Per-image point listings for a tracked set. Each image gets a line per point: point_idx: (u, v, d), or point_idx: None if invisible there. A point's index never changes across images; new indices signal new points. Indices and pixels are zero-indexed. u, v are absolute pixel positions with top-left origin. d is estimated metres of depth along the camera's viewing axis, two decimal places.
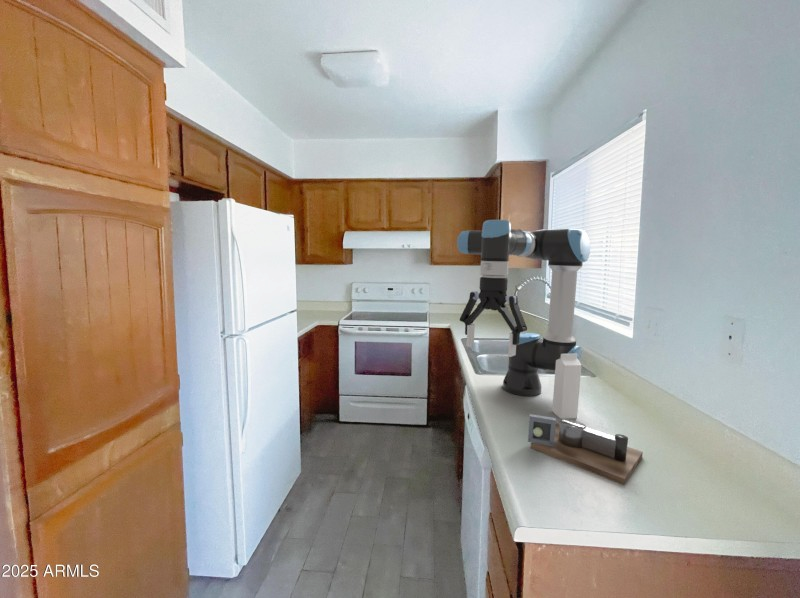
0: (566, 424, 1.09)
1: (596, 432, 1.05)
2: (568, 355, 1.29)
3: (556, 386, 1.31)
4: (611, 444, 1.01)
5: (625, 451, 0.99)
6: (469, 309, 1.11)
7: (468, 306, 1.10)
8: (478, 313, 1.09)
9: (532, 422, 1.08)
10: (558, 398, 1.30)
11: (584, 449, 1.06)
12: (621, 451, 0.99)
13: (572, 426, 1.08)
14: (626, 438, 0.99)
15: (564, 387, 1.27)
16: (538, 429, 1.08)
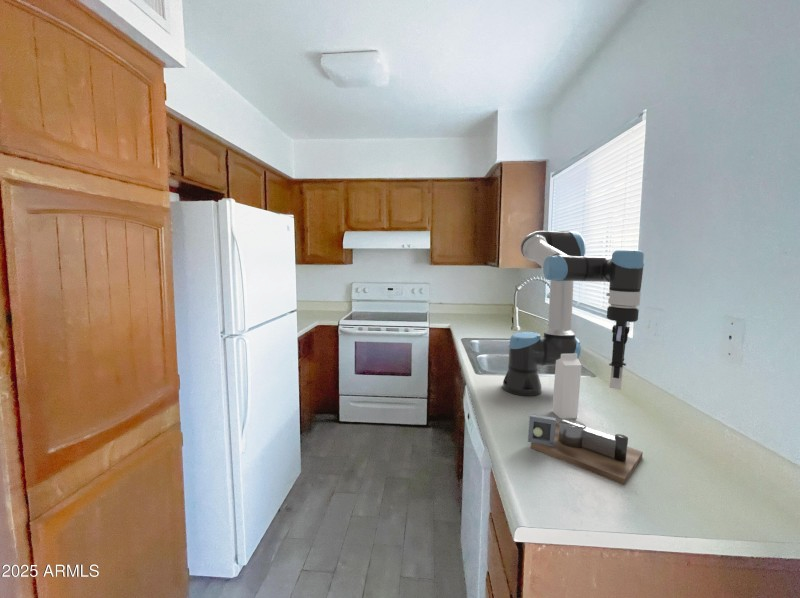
0: (566, 424, 1.09)
1: (596, 432, 1.05)
2: (568, 355, 1.29)
3: (556, 386, 1.31)
4: (611, 444, 1.01)
5: (625, 451, 0.99)
6: None
7: None
8: None
9: (532, 422, 1.08)
10: (558, 398, 1.30)
11: (584, 449, 1.06)
12: (621, 451, 0.99)
13: (572, 426, 1.08)
14: (626, 438, 0.99)
15: (564, 387, 1.27)
16: (538, 429, 1.08)
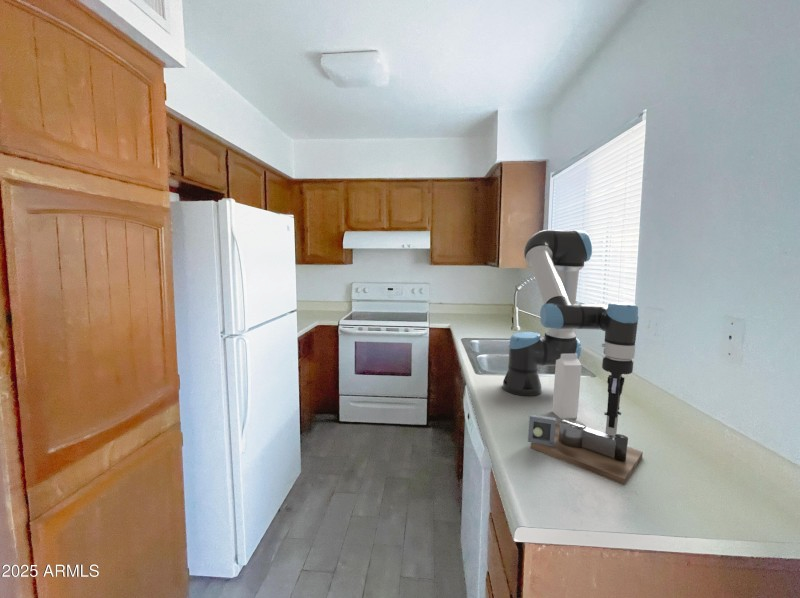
0: (566, 424, 1.09)
1: (596, 432, 1.05)
2: (568, 355, 1.29)
3: (556, 386, 1.31)
4: (611, 444, 1.01)
5: (625, 451, 0.99)
6: None
7: None
8: None
9: (532, 422, 1.08)
10: (558, 398, 1.30)
11: (584, 449, 1.06)
12: (621, 451, 0.99)
13: (572, 426, 1.08)
14: (626, 438, 0.99)
15: (564, 387, 1.27)
16: (538, 429, 1.08)
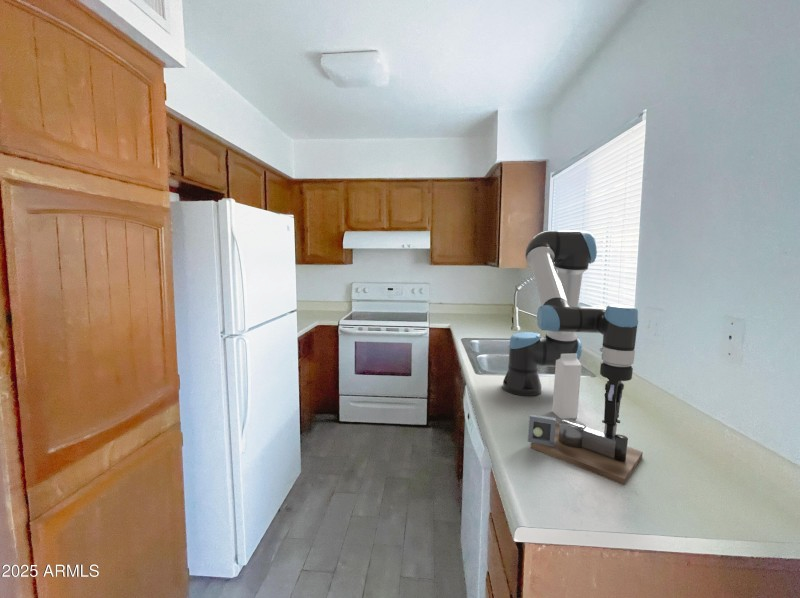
0: (566, 424, 1.09)
1: (596, 432, 1.05)
2: (568, 355, 1.29)
3: (556, 386, 1.31)
4: (611, 444, 1.01)
5: (625, 451, 0.99)
6: None
7: None
8: None
9: (532, 422, 1.08)
10: (558, 398, 1.30)
11: (584, 449, 1.06)
12: (621, 451, 0.99)
13: (572, 426, 1.08)
14: (626, 438, 0.99)
15: (564, 387, 1.27)
16: (538, 429, 1.08)
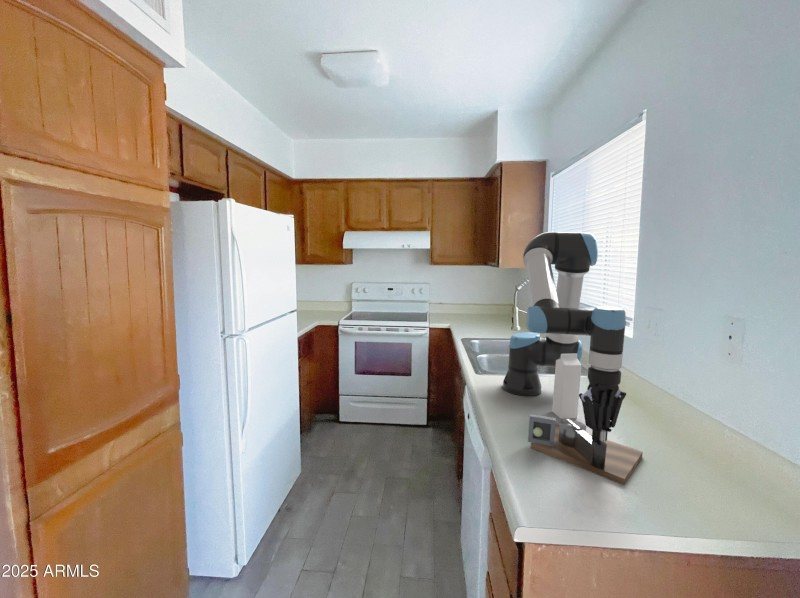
0: (566, 422, 1.10)
1: (585, 435, 1.03)
2: (568, 355, 1.29)
3: (556, 386, 1.31)
4: (590, 448, 0.99)
5: (600, 458, 0.96)
6: (610, 408, 1.00)
7: None
8: (603, 410, 0.99)
9: (532, 422, 1.08)
10: (558, 398, 1.30)
11: None
12: (595, 457, 0.96)
13: (569, 425, 1.09)
14: (603, 445, 0.95)
15: (564, 387, 1.27)
16: (538, 429, 1.08)
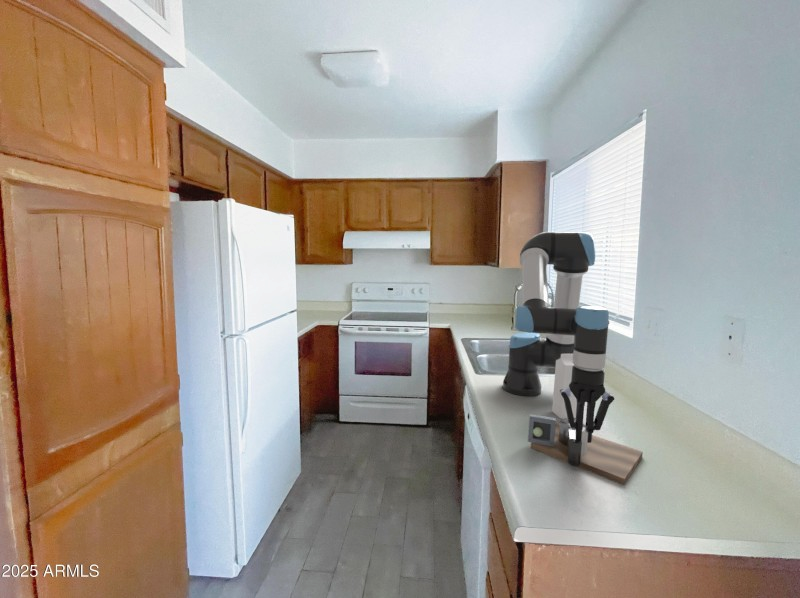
0: (568, 422, 1.11)
1: (573, 434, 1.03)
2: (568, 355, 1.29)
3: (556, 386, 1.31)
4: None
5: (572, 455, 0.97)
6: (598, 410, 0.98)
7: None
8: (587, 410, 0.99)
9: (532, 422, 1.08)
10: (558, 398, 1.30)
11: None
12: (569, 453, 0.98)
13: (568, 424, 1.09)
14: (576, 443, 0.96)
15: (564, 387, 1.27)
16: (538, 429, 1.08)
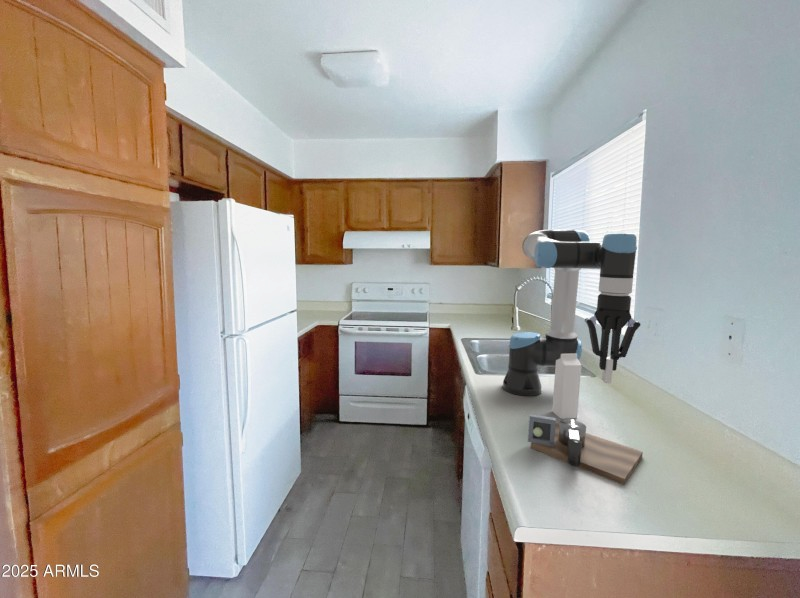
0: (568, 422, 1.11)
1: (573, 434, 1.03)
2: (568, 355, 1.29)
3: (556, 386, 1.31)
4: None
5: (572, 455, 0.97)
6: (624, 338, 0.99)
7: None
8: (613, 338, 0.99)
9: (532, 422, 1.08)
10: (558, 398, 1.30)
11: (584, 449, 1.06)
12: (568, 453, 0.98)
13: (568, 424, 1.09)
14: (576, 443, 0.96)
15: (564, 387, 1.27)
16: (538, 429, 1.08)
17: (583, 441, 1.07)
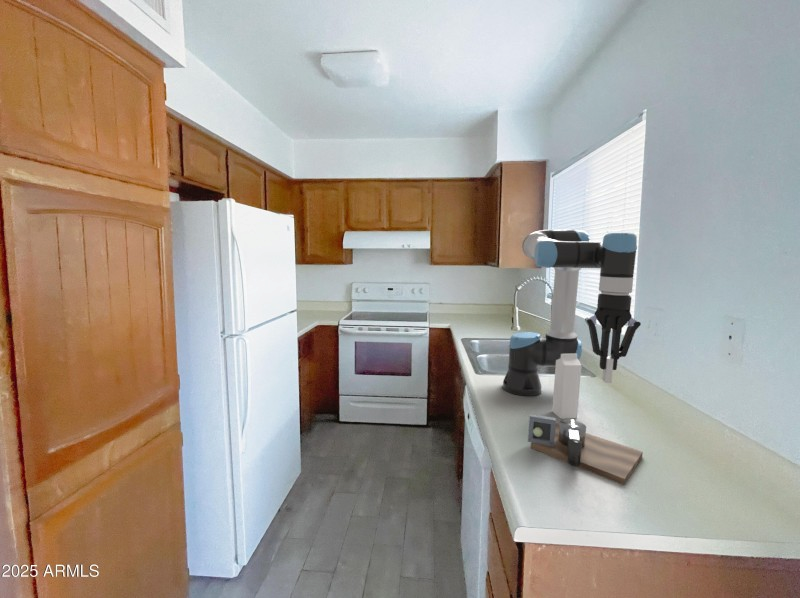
0: (568, 422, 1.11)
1: (573, 434, 1.03)
2: (568, 355, 1.29)
3: (556, 386, 1.31)
4: None
5: (572, 455, 0.97)
6: (624, 338, 0.99)
7: None
8: (613, 338, 0.99)
9: (532, 422, 1.08)
10: (558, 398, 1.30)
11: (584, 449, 1.06)
12: (568, 453, 0.98)
13: (568, 424, 1.09)
14: (576, 443, 0.96)
15: (564, 387, 1.27)
16: (538, 429, 1.08)
17: (583, 441, 1.07)
